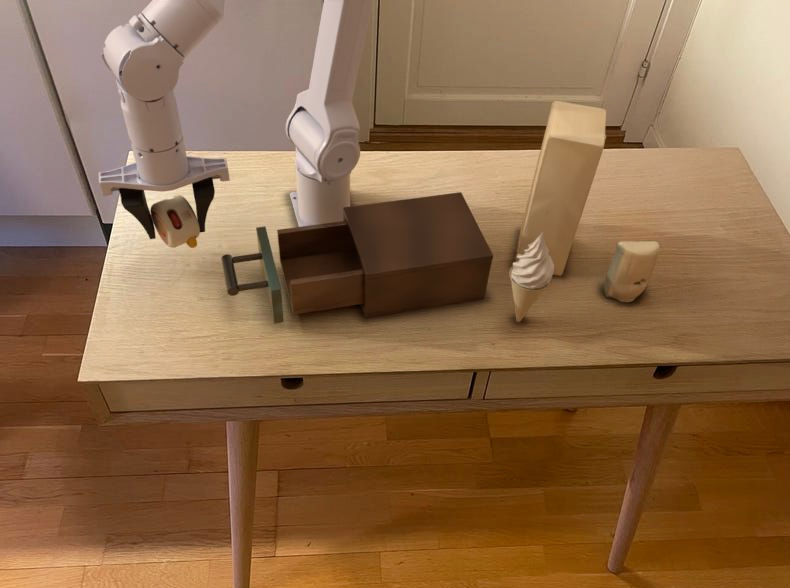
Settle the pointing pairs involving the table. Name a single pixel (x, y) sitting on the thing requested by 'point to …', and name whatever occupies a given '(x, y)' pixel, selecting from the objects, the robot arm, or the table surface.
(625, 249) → the cream stubby rounded block
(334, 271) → the drawer
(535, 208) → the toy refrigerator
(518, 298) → the ice cream cone
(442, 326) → the table surface
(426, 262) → the cabinet
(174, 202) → the roller toy
